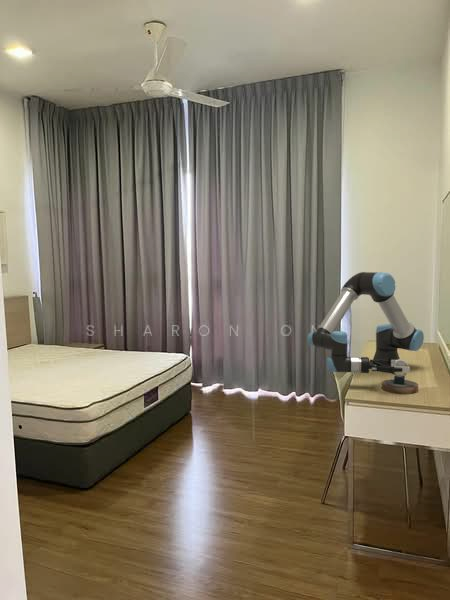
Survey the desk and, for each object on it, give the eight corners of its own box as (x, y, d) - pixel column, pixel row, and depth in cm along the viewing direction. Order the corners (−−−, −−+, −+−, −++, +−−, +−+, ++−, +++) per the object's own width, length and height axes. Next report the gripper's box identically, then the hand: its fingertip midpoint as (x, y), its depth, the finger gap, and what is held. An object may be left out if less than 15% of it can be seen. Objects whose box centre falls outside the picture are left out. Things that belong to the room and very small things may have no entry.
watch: (390, 380, 228) (391, 357, 227) (408, 382, 225) (409, 359, 224) (389, 383, 223) (390, 360, 222) (408, 385, 220) (408, 361, 219)
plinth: (393, 382, 236) (393, 376, 235) (424, 389, 223) (424, 383, 223) (375, 388, 226) (375, 382, 225) (406, 396, 213) (406, 389, 213)
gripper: (358, 366, 240) (403, 368, 235) (361, 379, 216) (411, 381, 211) (358, 351, 239) (403, 352, 235) (361, 363, 215) (411, 364, 210)
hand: (407, 366), depth 223 cm, fingers open, 13 cm apart
